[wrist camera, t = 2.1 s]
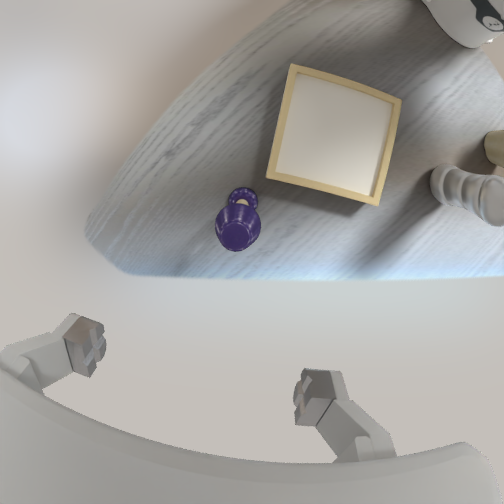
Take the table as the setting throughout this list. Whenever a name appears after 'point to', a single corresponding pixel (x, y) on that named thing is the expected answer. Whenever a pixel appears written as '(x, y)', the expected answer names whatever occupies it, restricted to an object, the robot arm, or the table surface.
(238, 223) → the toy lamp
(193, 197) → the table surface
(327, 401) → the robot arm
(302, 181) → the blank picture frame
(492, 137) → the flower pot
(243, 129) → the table surface
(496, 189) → the plastic bottle
